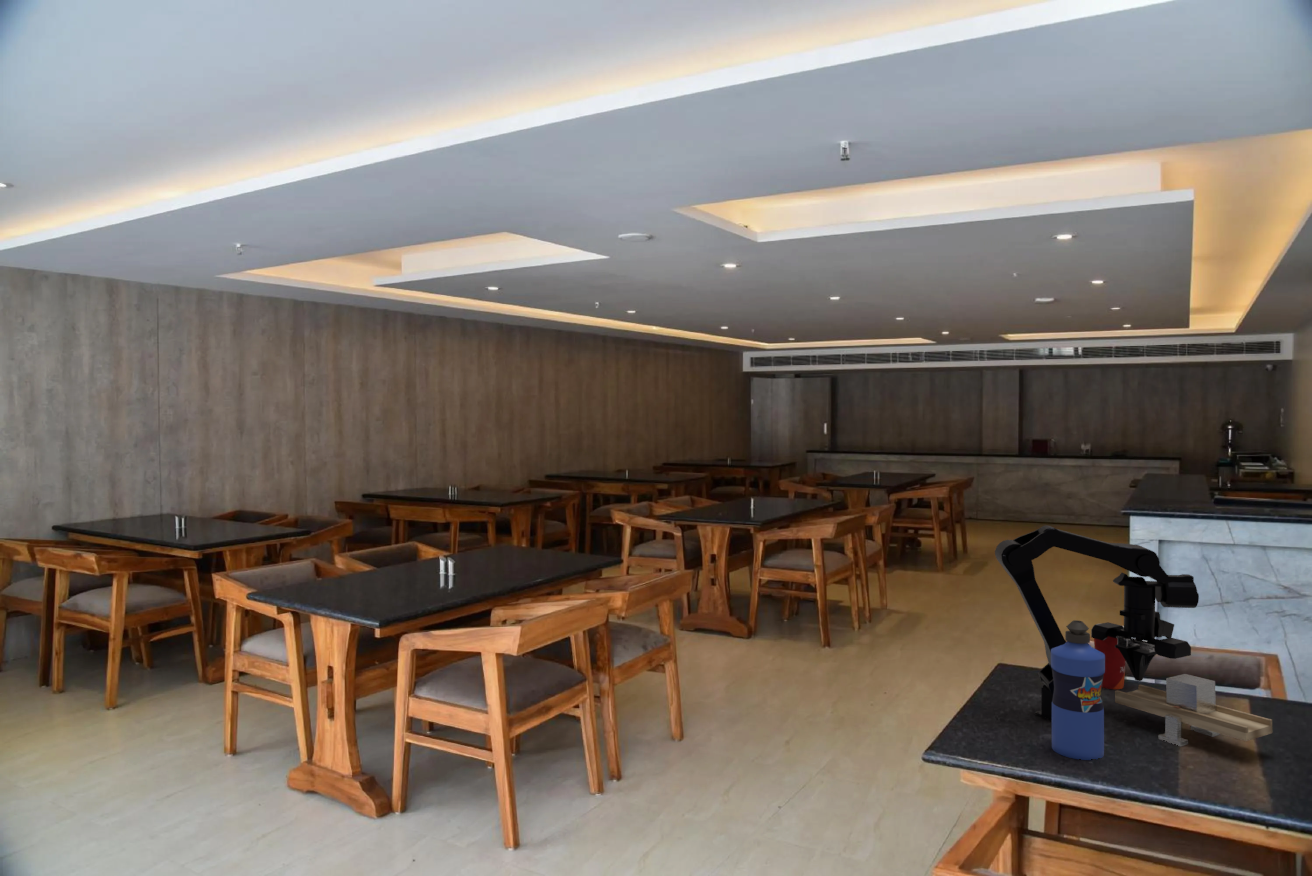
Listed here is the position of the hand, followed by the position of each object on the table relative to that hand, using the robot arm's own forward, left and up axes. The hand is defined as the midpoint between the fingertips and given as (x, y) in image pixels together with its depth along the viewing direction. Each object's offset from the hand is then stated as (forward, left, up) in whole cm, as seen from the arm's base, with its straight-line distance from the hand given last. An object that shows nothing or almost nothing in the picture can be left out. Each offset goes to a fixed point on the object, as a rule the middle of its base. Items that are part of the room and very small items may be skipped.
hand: (1138, 680), depth 181 cm
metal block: (0, -11, -3) cm, 11 cm away
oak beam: (0, -11, -4) cm, 11 cm away
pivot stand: (0, -11, -8) cm, 14 cm away
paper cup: (+15, +17, -9) cm, 25 cm away
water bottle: (-25, -5, -9) cm, 27 cm away
